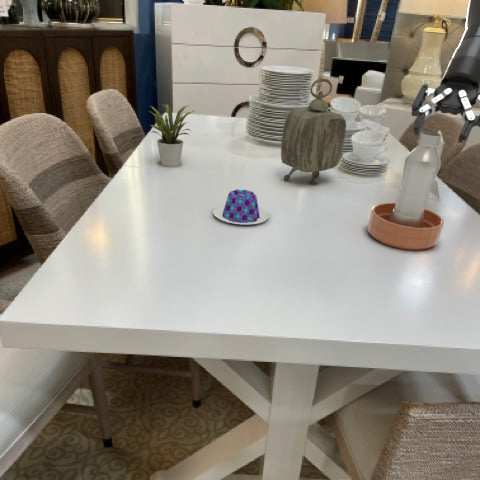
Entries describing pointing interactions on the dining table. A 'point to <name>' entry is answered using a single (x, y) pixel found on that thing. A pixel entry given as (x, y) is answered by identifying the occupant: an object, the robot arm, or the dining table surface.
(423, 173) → the plastic bottle
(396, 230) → the pan
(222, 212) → the pudding
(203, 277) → the dining table surface
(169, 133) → the house plant
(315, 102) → the tabletop clock
